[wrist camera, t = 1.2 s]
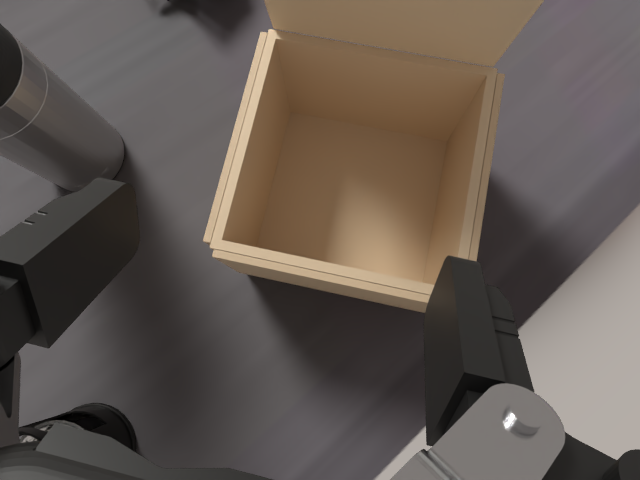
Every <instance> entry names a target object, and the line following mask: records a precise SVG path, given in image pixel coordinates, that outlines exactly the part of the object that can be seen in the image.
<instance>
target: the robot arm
mask: <svg viewBox="0 0 640 480" xmlns="http://www.w3.org/2000/svg"><path fill="white" fill-rule="evenodd" d="M0 155H1V156H3V157H5V158H7V159H9V160H11V161H13V162H15V163H17V164H18V165H20V166H22V167H24V168H26V169H28V170H30V171H32V172H34V173H36V174H37V175H39V176H41V177H43V178H45V179H47V180H49V181H51V182H53V183H54V184H56V185H58V186H60V187H62V188H64V189H67V190H69V191H72V192H74V193H71V194H68V195H65V196H63V197H60V198H57V199H54V200H53V201H51V202H50V203H48V204H47V205H46V206H44V207H43V208H41V209H40V210H38V213H34V214H32V215H31V216H30V217H28V218H27V219H25V222H24V223H22V222H21V223H19V224H18V225H17V226H15V227H14V228H12V229H11V230H9V231H8V232H6V233H5V234H4V235H2V236H1V237H0V480H272V479H268V478H265V477H261V476H257V475H253V474H249V473H246V472H242V471H238V470H234V469H230V468H186V469H167V468H161V467H159V466H156V465H155V464H153V463H152V462H150V461H148V460H147V459H145V458H144V457H142V456H140V455H139V454H137V453H136V452H134V451H132V450H131V449H129V448H128V447H126V446H124V445H123V444H121V443H120V442H118V441H116V440H115V439H113V438H112V437H109V436H105V435H101V434H97V433H93V432H90V431H86V430H82V429H78V428H74V427H71V426H67V425H63V424H59V423H55V424H54V425H53V426H52V428H51V429H50V430H49V431H48V433H47V434H46V435H45V437H44V438H43V439H42V441H31V442H23V443H20V439H19V400H20V372H21V358H20V355H19V352H18V351H19V350H20V349H21V348H22V347H23V346H24V345H25V344H26V343H30V344H34V345H37V346H41V347H45V348H50V347H51V346H52V344H53V343H54V342H55V341H56V340H57V339H58V338H59V337H60V336H61V335H62V334H63V332H64V331H65V330H66V329H67V328H68V327H69V326H70V325H71V324H72V323H73V322H74V321H75V319H76V318H77V317H78V316H79V315H80V314H81V313H82V312H83V311H84V310H85V309H86V307H87V306H88V305H89V304H90V303H91V302H92V301H93V300H94V299H95V298H96V297H97V296H98V294H99V293H100V292H101V291H102V290H103V289H104V288H105V287H106V286H107V285H108V284H109V282H110V281H111V280H112V279H113V278H114V277H115V276H116V275H117V274H118V273H119V272H120V271H121V269H122V268H123V267H124V266H125V265H126V264H127V263H128V262H129V261H130V260H131V259H132V257H133V256H134V254H135V253H136V251H137V248H138V245H139V239H140V232H139V224H138V215H137V206H136V197H135V191H134V188H133V186H132V185H131V184H128V183H124V182H119V181H115V180H112V179H113V178H114V177H115V176H116V174H117V173H118V171H119V170H120V168H121V165H122V162H123V159H124V144H123V141H122V138H121V136H120V135H119V133H118V132H117V131H116V130H115V129H114V128H113V127H112V126H111V125H110V124H109V123H108V122H107V121H106V120H105V119H104V118H103V117H102V116H100V115H99V114H98V113H97V112H96V111H95V110H94V109H93V108H92V107H91V106H90V105H89V104H88V103H86V102H85V101H84V100H83V99H82V98H81V97H80V96H79V95H78V94H77V93H76V92H74V91H73V90H72V89H71V88H70V87H69V86H68V85H67V84H66V83H65V82H64V81H62V80H61V79H60V78H59V77H58V76H57V75H56V74H55V73H54V72H53V71H51V70H50V69H49V68H48V67H47V66H46V65H45V64H44V63H43V62H42V61H41V60H39V59H38V58H37V57H36V56H35V55H34V54H33V53H32V52H30V51H29V50H28V49H27V48H26V47H25V46H24V45H23V44H22V43H21V42H20V41H18V40H17V39H16V38H15V37H14V36H13V35H12V34H11V33H10V32H9V31H8V30H7V29H5V28H4V27H3V26H2V25H1V24H0ZM514 322H515V320H514V316H513V312H512V308H511V305H510V303H509V302H508V300H507V299H506V298H505V297H504V295H503V294H502V293H501V291H500V290H499V289H498V287H494V286H489V285H485V282H484V278H483V273H482V268H481V264H480V263H479V262H477V261H472V260H468V259H463V258H459V257H454V256H450V255H448V256H447V257H446V258H445V260H444V262H443V265H442V267H441V270H440V272H439V275H438V278H437V280H436V283H435V285H434V288H433V290H432V293H431V296H430V298H429V301H428V304H427V307H426V311H425V317H424V361H425V401H426V441H427V445H429V446H433V447H432V448H430V449H429V450H428V451H426V450H425V449H423V450H421V451H419V452H418V453H417V454H415V455H414V456H413V457H412V458H411V459H410V460H409V461H408V462H407V463H406V464H405V465H404V466H403V467H402V468H401V469H400V470H399V471H398V472H397V473H396V474H395V475H394V476H393V477H392V478H391V479H390V480H640V450H630V451H628V452H626V453H624V454H623V455H622V456H621V457H620V458H619V459H618V460H615V459H613V458H611V457H609V456H607V455H606V454H603V453H602V452H600V451H598V450H596V449H594V448H592V447H590V446H588V445H586V444H584V443H582V442H580V441H579V440H577V439H575V438H573V437H572V436H570V435H569V434H567V433H566V432H565V431H564V427H563V424H562V422H561V420H560V418H559V416H558V415H557V413H556V412H555V411H554V410H553V408H552V407H551V406H550V405H549V404H548V403H547V402H546V401H545V400H544V399H542V398H541V397H540V396H538V395H537V394H535V393H534V389H533V386H532V382H531V378H530V375H529V371H528V368H527V364H526V360H525V356H524V353H523V349H522V345H521V342H520V339H518V336H519V334H518V331H517V327H516V324H514Z"/></svg>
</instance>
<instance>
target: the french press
mask: <svg viewBox="0 0 640 480" xmlns="http://www.w3.org/2000/svg"><path fill="white" fill-rule="evenodd" d="M85 417H96V418H98V419H100V420H101V421H102V422H103V423H104V424H105V425H102V426H100V427H97V428H95V429H92V430H90V432H93V433H97V434H101V435H105V436H109V437H112V438H113V439H115V440H116V441H118V442H120V443H121V444H123V445H124V446H126V447H128V448H129V449H131V450H132V451H134V452H136V438H135V434H134V430H133V428H132V426H131V424H130V422H129V421H128V419H127V418H126V417H125V415H124V414H122V413H121V412H120V411H119V410H117V409H116V408H114V407H112V406H109V405H106V404H102V403H90V404H84V405H81V406H79V407H76V408H74V409H72V410H71V411H69V412H66V413H63V414H61V415H58V416H55V417H51V418H48V419H45V420H42V421H39V422H35V423H32V424H29V425H26V426H23V427H19V436H22V435H23V436H22V438H21V439H20V443H23V442H31V441H42V439H43V438H44V437H45V435H46V434H47V433H48V431H49V430H50V429H51V428H52V426H53V425H54V424H55V423H59V424H63V425H67V426H71V427H74V428H78V429H82V430H86V429H85V428H83V427H81V426H79V425H77V424H75V423H74V422H76V421H78V420H79V419H82V418H85ZM86 431H87V430H86Z"/></svg>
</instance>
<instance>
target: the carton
mask: <svg viewBox="0 0 640 480" xmlns="http://www.w3.org/2000/svg"><path fill="white" fill-rule="evenodd" d="M497 70H498V69H496V68H490V67H484V66H479V65H473V64H467V63H461V62H456V61H450V60H444V59H438V58H433V57H427V56H421V55H415V54H410V53H404V52H398V51H392V50H387V49H381V48H375V47H369V46H364V45H358V44H352V43H346V42H341V41H335V40H329V39H324V38H318V37H312V36H306V35H301V34H295V33H289V32H283V31H278V30H272V29H269V31H268V33H265V32H261V33H260V37H259V40H258V44H257V47H256V51H255V55H254V58H253V62H252V66H251V69H250V73H249V76H248V80H247V84H246V87H245V91H244V94H243V98H242V102H241V105H240V109H239V112H238V116H237V120H236V123H235V127H234V131H233V134H232V138H231V141H230V145H229V149H228V152H227V156H226V159H225V163H224V167H223V170H222V174H221V177H220V181H219V185H218V188H217V192H216V196H215V199H214V203H213V206H212V210H211V214H210V217H209V221H208V224H207V228H206V232H205V235H204V239H203V241H204V242H205V243H207V244H208V245H210V247H209V248H211V249H213V250H214V251H213V255H212V257H214V258H216V259H217V260H219V261H221V262H222V263H224V264H226V265H227V266H229V267H231V268H232V269H234V270H236V271H237V272H239V273H243V274H248V275H253V276H257V277H262V278H266V279H271V280H276V281H280V282H285V283H289V284H294V285H299V286H303V287H308V288H312V289H317V290H322V291H326V292H331V293H335V294H340V295H344V296H349V297H354V298H358V299H363V300H367V301H372V302H377V303H381V304H386V305H390V306H395V307H400V308H404V309H409V310H413V311H418V312H423V313H425V311H426V307H427V304H428V301H429V298H430V296H431V293H432V290H433V288H434V285H435V283H436V280H437V278H438V275H439V272H440V270H441V267H442V265H443V262H444V260H445V258H446V257H447V256H448V255H450V256H454V257H459V258H463V259H468V260H472V261H477V254H478V248H479V241H480V235H481V228H482V221H483V215H484V208H485V202H486V195H487V188H488V182H489V175H490V169H491V162H492V155H493V149H494V142H495V136H496V129H497V122H498V116H499V109H500V103H501V96H502V89H503V83H504V76H505V74H500V73H497Z"/></svg>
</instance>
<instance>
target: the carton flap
mask: <svg viewBox="0 0 640 480" xmlns="http://www.w3.org/2000/svg"><path fill="white" fill-rule="evenodd" d="M543 1H544V0H264V2H265V5H266V7H267V10H268V13H269V16H270V19H271V22H272V25H273V28H274V29H278V30H284V31H290V32H296V33H301V34H307V35H313V36H319V37H324V38H330V39H336V40H342V41H347V42H353V43H359V44H365V45H370V46H376V47H382V48H388V49H393V50H399V51H405V52H411V53H416V54H422V55H428V56H434V57H439V58H445V59H451V60H457V61H462V62H468V63H474V64H480V65H485V66H491V67H493V66H494V65H495V64H496V63H497V61H498V60H499V59H500V57H501V56H502V55H503V53H504V52H505V51H506V49H507V48H508V47H509V46H510V44H511V43H512V42H513V40H514V39H515V38H516V36H517V35H518V34H519V33H520V31H521V30H522V29H523V27H524V26H525V25H526V23H527V22H528V21H529V19H530V18H531V17H532V16H533V14H534V13H535V12H536V10H537V9H538V8H539V6H540V5H541V4H542V2H543Z"/></svg>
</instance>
